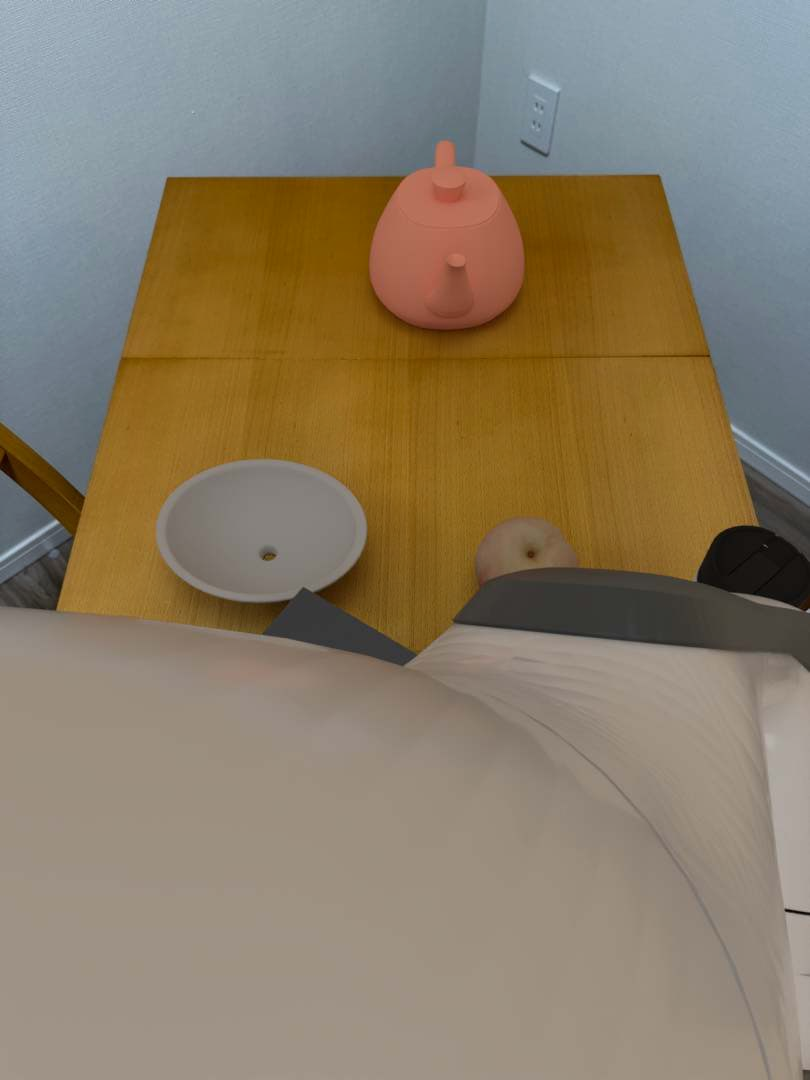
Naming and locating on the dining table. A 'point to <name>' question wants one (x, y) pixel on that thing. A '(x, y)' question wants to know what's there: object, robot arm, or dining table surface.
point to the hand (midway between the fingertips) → (495, 835)
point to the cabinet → (334, 629)
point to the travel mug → (756, 565)
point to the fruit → (522, 548)
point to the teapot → (447, 248)
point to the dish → (261, 530)
